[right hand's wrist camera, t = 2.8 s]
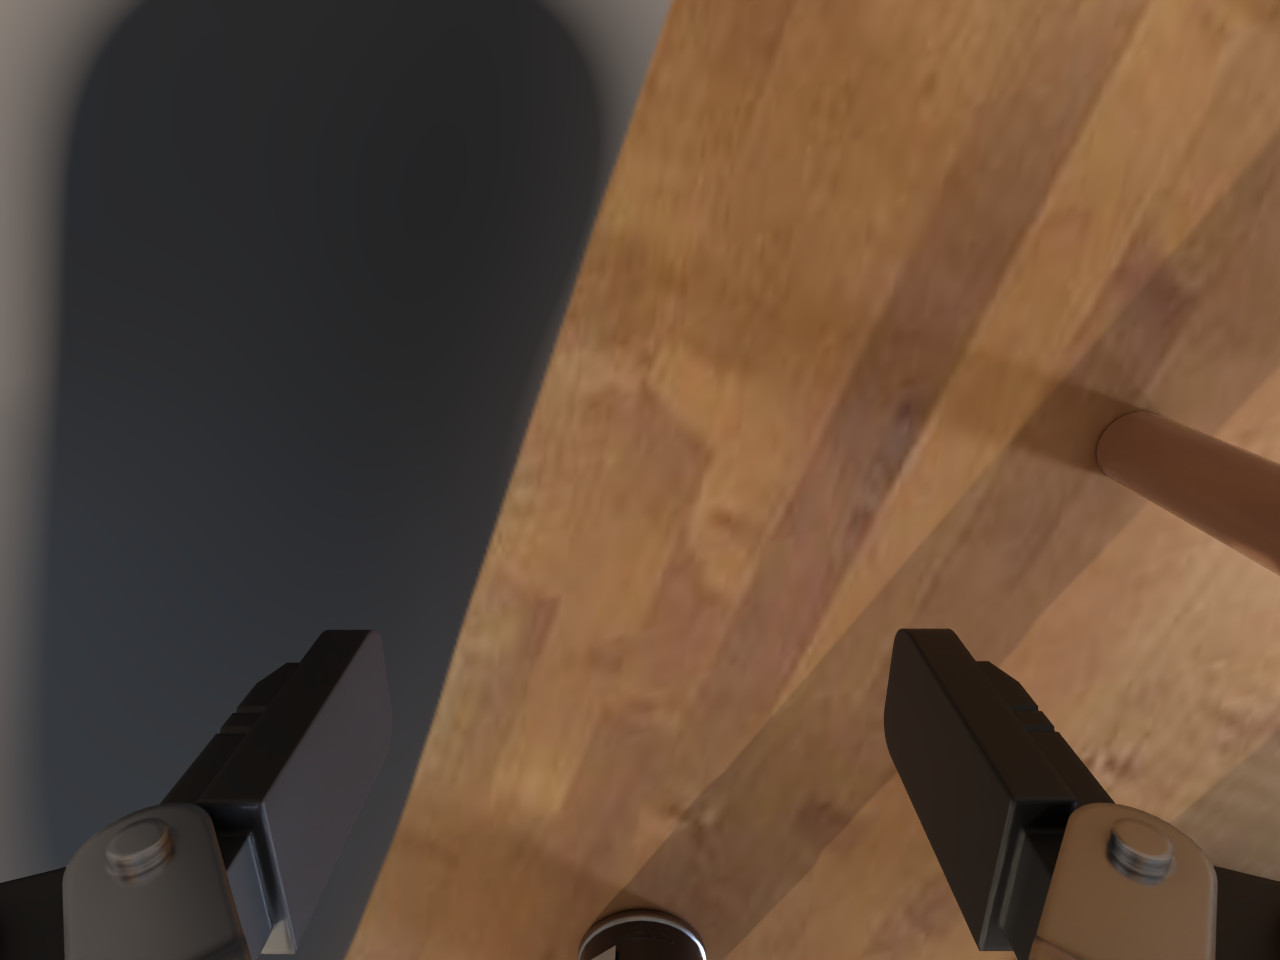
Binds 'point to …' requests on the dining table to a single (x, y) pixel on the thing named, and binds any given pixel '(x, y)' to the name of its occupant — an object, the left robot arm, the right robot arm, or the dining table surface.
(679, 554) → the dining table surface
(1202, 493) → the brown cylinder
